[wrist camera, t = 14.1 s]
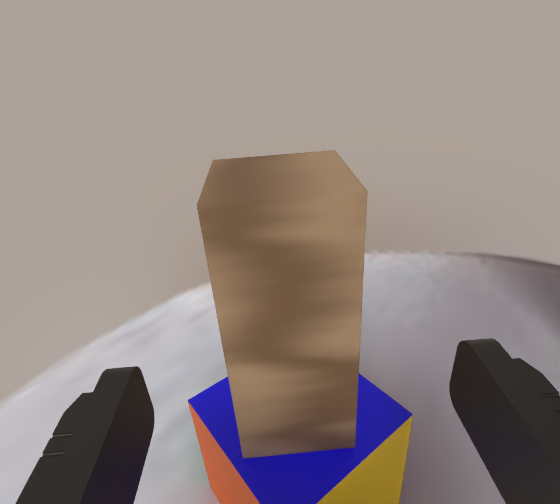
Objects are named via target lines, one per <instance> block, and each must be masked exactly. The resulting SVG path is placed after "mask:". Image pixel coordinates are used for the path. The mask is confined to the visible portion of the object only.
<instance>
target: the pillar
mask: <svg viewBox="0 0 560 504" xmlns="http://www.w3.org/2000/svg"><path fill="white" fill-rule="evenodd" d="M197 209H198V214H199V220H200V225H201V231H202V235H203V242H204V247H205V253H206V258H207V263H208V269H209V274H210V280H211V286H212V291H213V297H214V302H215V307H216V313H217V318H218V324H219V329H220V335H221V340H222V346H223V351H224V357H225V362H226V368H227V373H228V379H229V384H230V390H231V395H232V401H233V406H234V412H235V417H236V423H237V428H238V433H239V439H240V444H241V450H242V455H243V459H244V458H254V457H264V456H274V455H284V454H294V453H304V452H314V451H324V450H334V449H344V448H354V447H355V437H356V416H357V396H358V375H359V354H360V334H361V313H362V292H363V272H364V251H365V229H366V209H367V190H366V189H365V187H364V186H363V185H362V184H361V182H360V181H359V180H358V179H357V177H356V176H355V175H354V174H353V172H352V171H351V170H350V169H349V167H348V166H347V165H346V163H345V162H344V161H343V160H342V158H341V157H340V156H339V155H338V153H337V152H336V151H335V150H332V151H320V152H307V153H295V154H282V155H272V156H271V155H270V156H258V157H245V158H233V159H221V160H213V161H212V165H211V167H210V170H209V173H208V175H207V178H206V181H205V184H204V187H203V190H202V192H201V195H200V198H199V201H198V204H197Z"/></svg>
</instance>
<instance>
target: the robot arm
mask: <svg viewBox="0 0 560 504" xmlns="http://www.w3.org/2000/svg"><path fill="white" fill-rule="evenodd" d="M449 388H450V396H451V400H452V404H453V406H454V408H455V410H456V412H457V414H458V416H459V418H460V420H461V422H462V423H463V425H464V427H465V429H466V431H467V433H468V435H469V436H470V438H471V440H472V442H473V444H474V446H475V447H476V449H477V451H478V453H479V455H480V457H481V459H482V460H483V462H484V464H485V466H486V468H487V470H488V471H489V473H490V475H491V477H492V479H493V481H494V483H495V484H496V486H497V488H498V490H499V492H500V494H501V495H502V497H503V499H504V501H505V503H506V504H560V396H559V392H558V391H557V390H556V389H555V388H554V387H553V385H552V384H551V383H550V382H549V381H548V380H547V379H546V377H545V376H544V375H543V374H542V373H541V372H539V371H538V370H536V369H535V368H533V367H532V366H530V365H529V364H528V363H526V362H525V361H523V360H522V359H520V358H516V359H512V358H511V357H510V356H509V354H508V353H507V352H506V351H505V350H504V348H503V347H502V346H501V345H500V343H499V342H498V341H496V340H495V339H492V338H491V339H478V340H466V341H461V342H460V343H459V344H458V347H457V352H456V356H455V361H454V365H453V370H452V375H451V379H450V386H449ZM153 429H154V409H153V405H152V402H151V399H150V396H149V393H148V390H147V387H146V384H145V381H144V378H143V375H142V372H141V370H140V368H139V367H124V368H112V369H106V370H105V371H104V372H103V373H102V375H101V376H100V379H99V381H98V383H97V385H96V387H95V389H94V391H93V392H91V393H82V394H81V395H80V396H79V397H78V398H77V399H76V401H75V402H74V403H73V404H72V405H71V406H70V407H69V408H68V409H67V410H66V411H65V412H64V413H63V415H62V417H61V419H60V421H59V423H58V425H57V427H56V428H55V430H54V432H53V437H52V438H50V440H49V442H48V444H47V445H46V447H45V449H44V451H43V456H42V457H40V459H39V460H38V462H37V464H36V466H35V468H34V470H33V472H32V474H31V475H30V477H29V479H28V481H27V483H26V485H25V487H24V489H23V490H22V492H21V494H20V496H19V498H18V500H17V502H16V504H133V503H134V500H135V496H136V492H137V489H138V485H139V481H140V478H141V474H142V470H143V467H144V463H145V460H146V456H147V452H148V449H149V445H150V441H151V438H152V434H153Z"/></svg>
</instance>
